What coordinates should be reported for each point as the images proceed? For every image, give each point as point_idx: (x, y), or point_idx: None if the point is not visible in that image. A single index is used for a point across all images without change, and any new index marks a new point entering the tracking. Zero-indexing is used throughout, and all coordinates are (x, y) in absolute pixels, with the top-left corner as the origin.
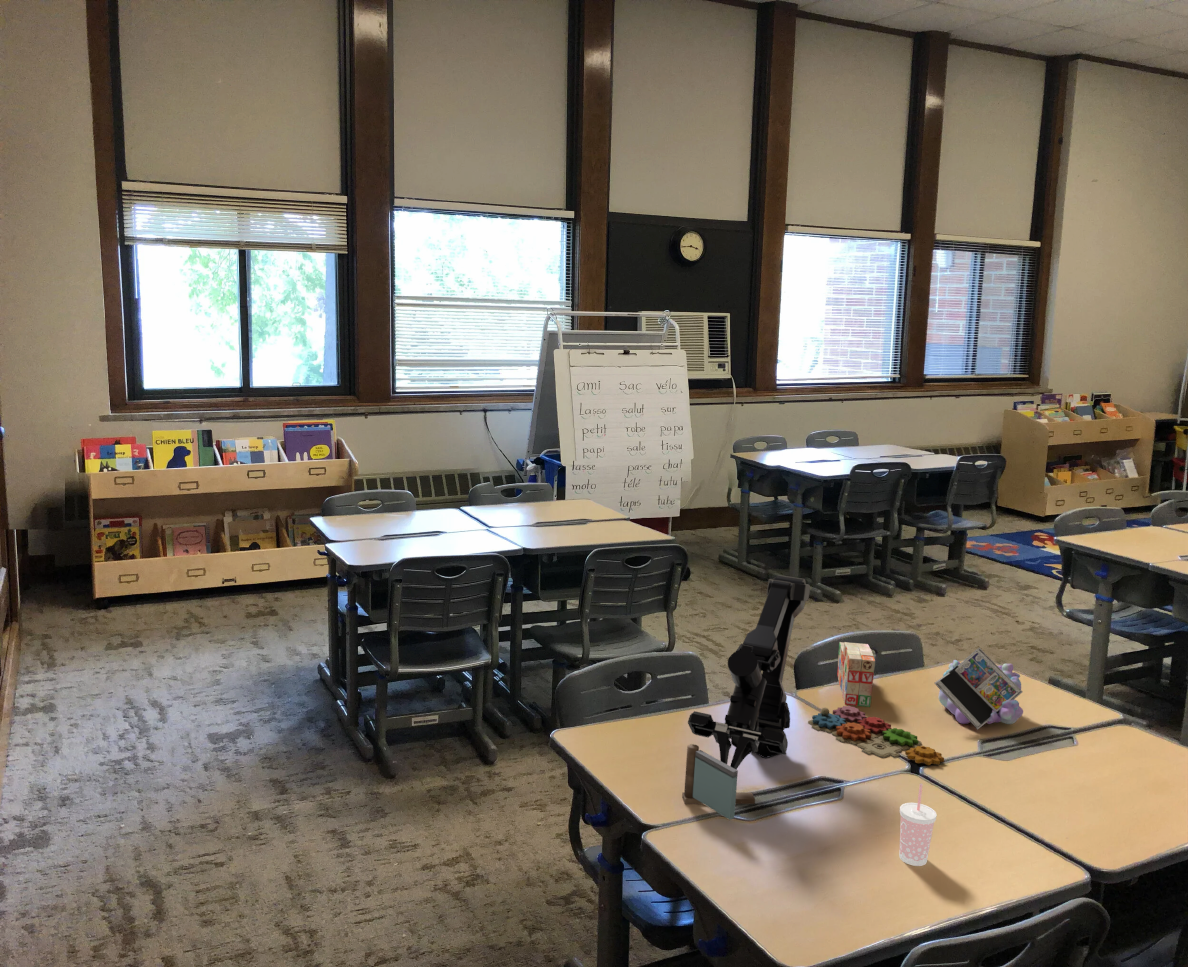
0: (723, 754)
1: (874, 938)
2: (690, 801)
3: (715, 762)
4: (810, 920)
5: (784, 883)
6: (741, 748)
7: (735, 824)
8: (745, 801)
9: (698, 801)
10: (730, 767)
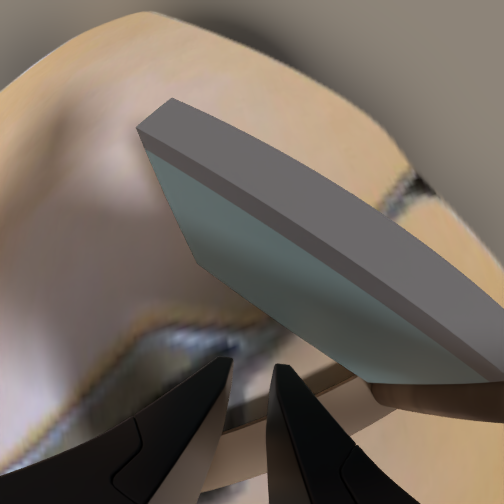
0: (313, 437)
1: (28, 71)
2: None
3: (343, 191)
4: (85, 57)
5: (96, 98)
6: (74, 465)
7: (196, 283)
8: None
9: (354, 376)
10: (193, 144)
